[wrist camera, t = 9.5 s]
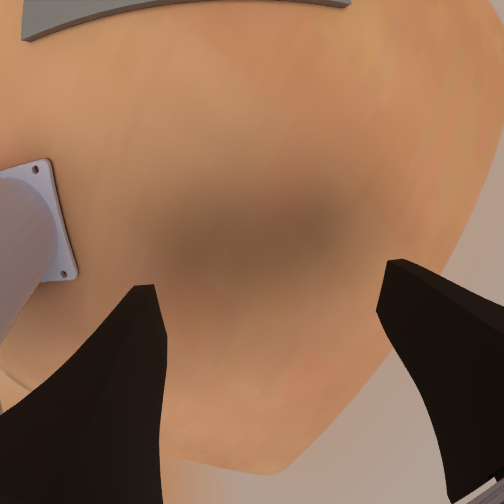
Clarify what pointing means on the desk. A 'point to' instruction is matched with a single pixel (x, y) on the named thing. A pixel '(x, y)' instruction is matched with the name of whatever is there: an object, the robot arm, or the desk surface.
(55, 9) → the shaft board
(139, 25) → the desk surface
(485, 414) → the robot arm
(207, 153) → the desk surface
